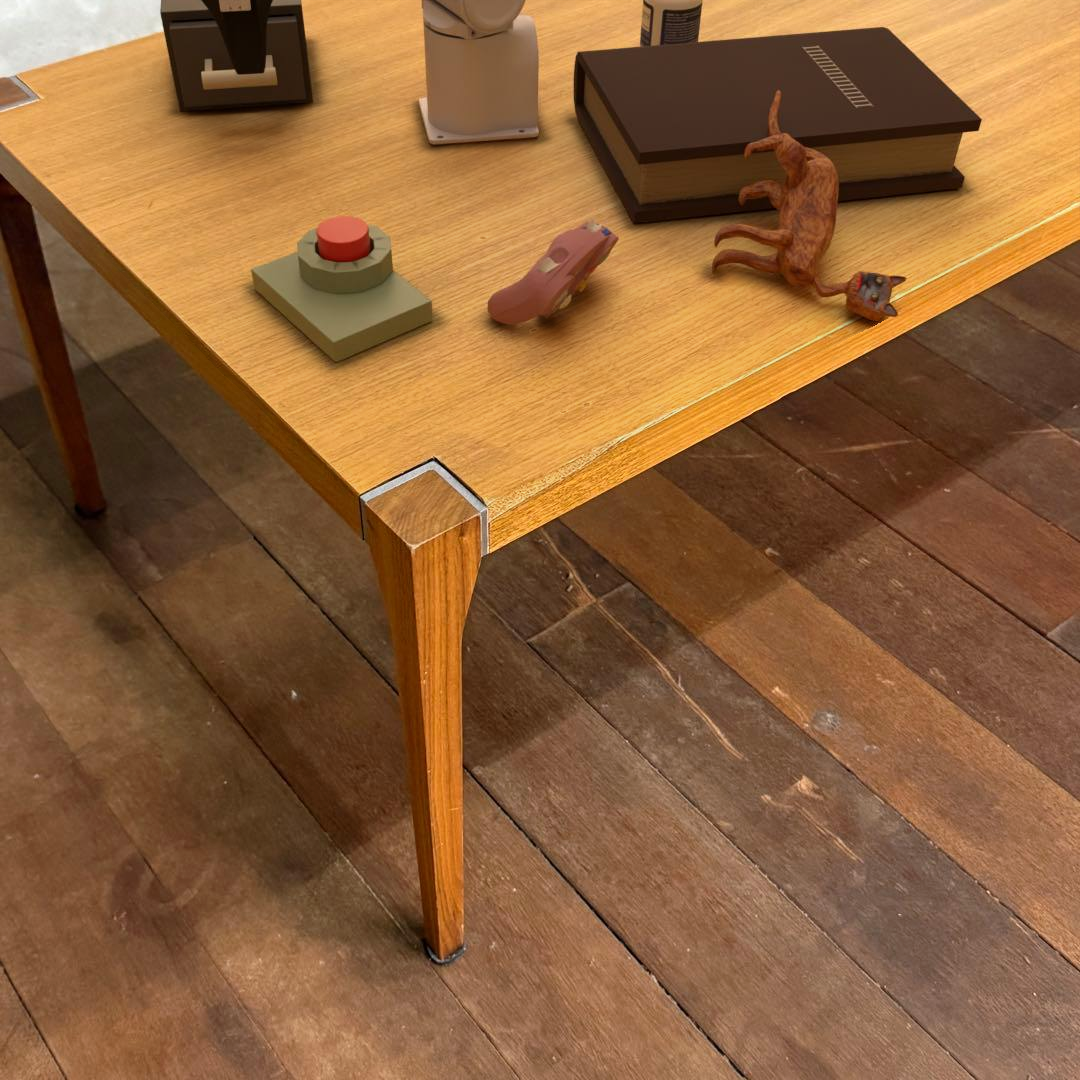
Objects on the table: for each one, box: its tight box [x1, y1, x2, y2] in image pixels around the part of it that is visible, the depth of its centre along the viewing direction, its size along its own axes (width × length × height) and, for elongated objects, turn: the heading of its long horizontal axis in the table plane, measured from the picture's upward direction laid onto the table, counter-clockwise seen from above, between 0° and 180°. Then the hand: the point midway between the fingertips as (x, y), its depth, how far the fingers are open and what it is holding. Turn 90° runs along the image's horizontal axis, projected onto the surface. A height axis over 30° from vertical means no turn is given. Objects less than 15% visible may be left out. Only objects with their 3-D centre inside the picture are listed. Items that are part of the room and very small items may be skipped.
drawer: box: [169, 15, 306, 107], centre depth 106 cm, size 16×10×7 cm, turn 11°
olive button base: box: [250, 223, 433, 363], centre depth 85 cm, size 11×9×4 cm
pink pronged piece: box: [487, 218, 620, 325], centre depth 85 cm, size 10×5×7 cm, turn 148°
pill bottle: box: [639, 0, 704, 47], centre depth 111 cm, size 5×5×10 cm
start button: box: [316, 215, 370, 263], centre depth 85 cm, size 4×4×2 cm
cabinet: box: [159, 0, 314, 112], centre depth 108 cm, size 13×12×9 cm
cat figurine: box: [711, 91, 907, 322], centre depth 89 cm, size 18×7×14 cm
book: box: [573, 26, 983, 224], centre depth 101 cm, size 28×20×6 cm
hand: (250, 70), depth 92 cm, fingers closed
